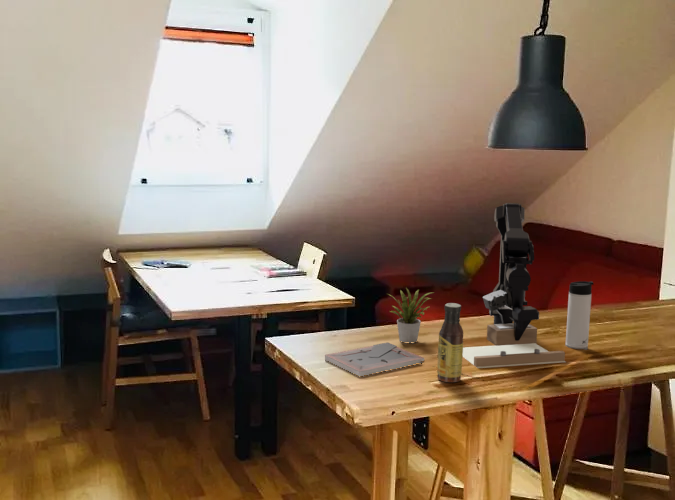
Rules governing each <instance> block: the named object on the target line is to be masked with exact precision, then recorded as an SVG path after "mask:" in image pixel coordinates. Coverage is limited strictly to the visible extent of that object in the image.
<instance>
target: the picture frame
mask: <svg viewBox="0 0 675 500" xmlns="http://www.w3.org/2000/svg"><path fill="white" fill-rule="evenodd" d="M324 361H326V362H328V361H329V362H328V363H330V362H331V363H330V364H332V363H333V364H332V365H334V364H335V365H334V366H336V365H337V366H336V367H338V366H339V367H338V368H340V367H341V368H340V369H342V368H343V369H342V370H344V369H345V370H344V371H346V370H348V371H349V372H348V371H347V372H348V373H350V372H351V373H350V374H352V373H354V374H356V375H358V376H363V377H365V376H364V375H368V376H370V375H369V374H372V373H376V372H381V371H385V370H390V369H396V368H400V367H404V366H408V365H413V364H416V363H424V362H423V361H425V357H424V356H421V355H418V354H415V353H414V352H411V351H408V350H407V349H403V348H401V347H399V346H397V345H395V344H392V343H390V342H384V343H377V344H373V345H370V346H363V347H360V348H354V349H349V350H343V351H338V352H332V353H328V354H325V355H324ZM400 369H401V368H400ZM396 370H397V369H396ZM354 374H353V375H354ZM356 375H355V376H356ZM372 375H373V374H372ZM358 376H357V377H358Z"/></svg>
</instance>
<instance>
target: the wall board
mask: <svg viewBox="0 0 675 500" xmlns="http://www.w3.org/2000/svg"><path fill="white" fill-rule="evenodd" d="M565 355H566V352H565V351H564V350H555V351H554V350H552V351H548V350H547V349H546V348H544V347H542V346H541V345H538V344H537V343H531V344H516V345H500V346H496V345H482V346H480V345H479V346H468V347H467V346H466V347H464V346H463V356H462V358H464V359H465V360H466V361H467V362H469V363H470V364H471V365H473V366H474V367H475V368H477V369H483V368H484V369H485V368H486V369H487V368H501V367H516V366H528V365H529V366H531V365H543V364H545V365H546V364H557V363H559V364H560V363H567V361H565Z"/></svg>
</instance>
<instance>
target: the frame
mask: <svg viewBox="0 0 675 500" xmlns="http://www.w3.org/2000/svg"><path fill="white" fill-rule="evenodd" d="M486 326H487V327H486V329H487V330H486V340H487V341H488V342H490V343H492V345H493V346H500V345H516V344H531V343H535V344H537V339H538V328H537V327H535V326H534V325H532V324H531V323H529V325H528V326H527V328H526V330H525V331H524V333H523V335H522V336H521V338H520V340H519V341H516V340H515V335H514V322H513V323H510V324H494V323H492V324H487V325H486Z"/></svg>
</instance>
